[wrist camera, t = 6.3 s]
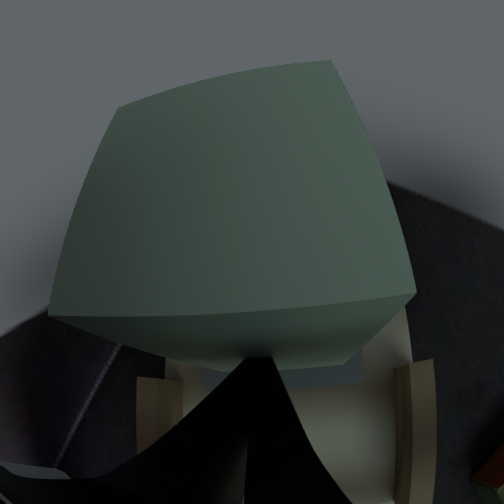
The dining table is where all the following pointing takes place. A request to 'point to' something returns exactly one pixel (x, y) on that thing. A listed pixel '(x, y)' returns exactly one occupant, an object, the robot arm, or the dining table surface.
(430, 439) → the track
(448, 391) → the dining table surface
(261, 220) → the tall sage green block
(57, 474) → the foam cup
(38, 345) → the dining table surface
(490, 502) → the carton
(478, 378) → the dining table surface
